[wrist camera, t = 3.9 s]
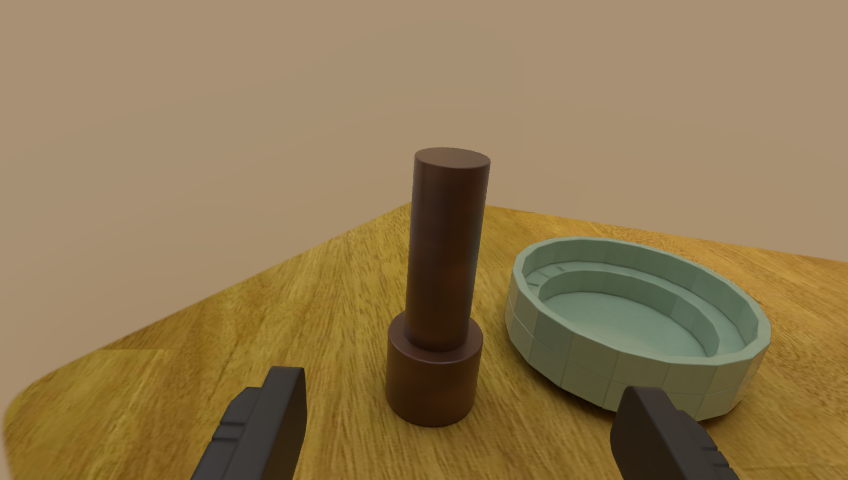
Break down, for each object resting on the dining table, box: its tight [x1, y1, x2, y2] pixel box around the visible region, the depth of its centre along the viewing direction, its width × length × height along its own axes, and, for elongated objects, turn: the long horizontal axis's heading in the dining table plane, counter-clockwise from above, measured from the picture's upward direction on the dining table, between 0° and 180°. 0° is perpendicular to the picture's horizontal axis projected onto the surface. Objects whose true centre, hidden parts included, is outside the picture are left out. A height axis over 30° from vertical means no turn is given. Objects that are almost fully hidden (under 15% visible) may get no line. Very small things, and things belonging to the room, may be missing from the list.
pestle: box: [386, 147, 491, 427], centre depth 22 cm, size 5×5×13 cm
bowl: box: [504, 236, 771, 421], centre depth 29 cm, size 14×14×4 cm
